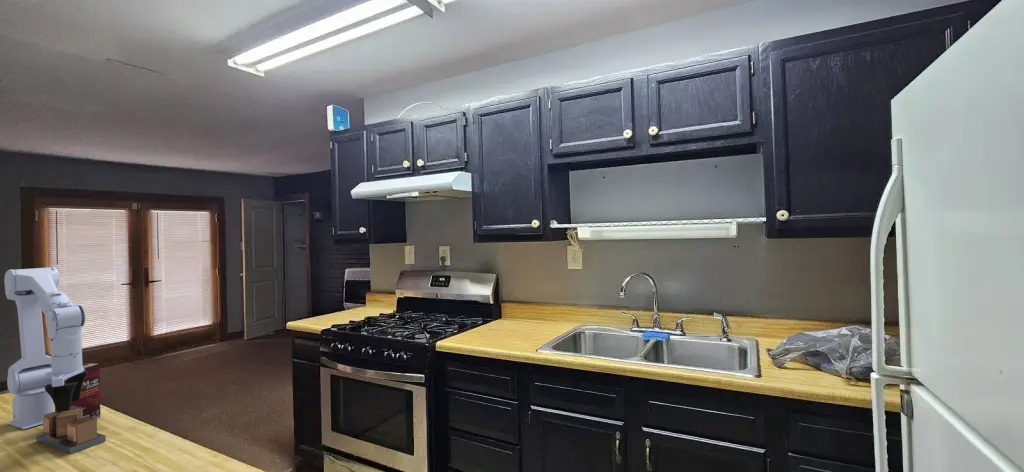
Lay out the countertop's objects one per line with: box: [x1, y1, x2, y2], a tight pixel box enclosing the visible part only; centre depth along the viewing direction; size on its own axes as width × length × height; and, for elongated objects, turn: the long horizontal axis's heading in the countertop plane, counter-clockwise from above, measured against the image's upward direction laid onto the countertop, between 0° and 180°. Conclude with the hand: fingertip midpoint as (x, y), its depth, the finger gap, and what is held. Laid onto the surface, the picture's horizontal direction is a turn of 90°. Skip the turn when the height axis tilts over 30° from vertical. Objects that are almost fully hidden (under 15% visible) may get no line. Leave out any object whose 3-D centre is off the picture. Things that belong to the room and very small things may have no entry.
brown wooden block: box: [56, 409, 83, 439], centre depth 118 cm, size 4×4×6 cm
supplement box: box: [54, 362, 102, 419], centre depth 129 cm, size 9×5×16 cm, turn 168°
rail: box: [35, 410, 107, 455], centre depth 118 cm, size 17×7×6 cm, turn 67°
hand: (68, 405), depth 118 cm, fingers open, 7 cm apart
